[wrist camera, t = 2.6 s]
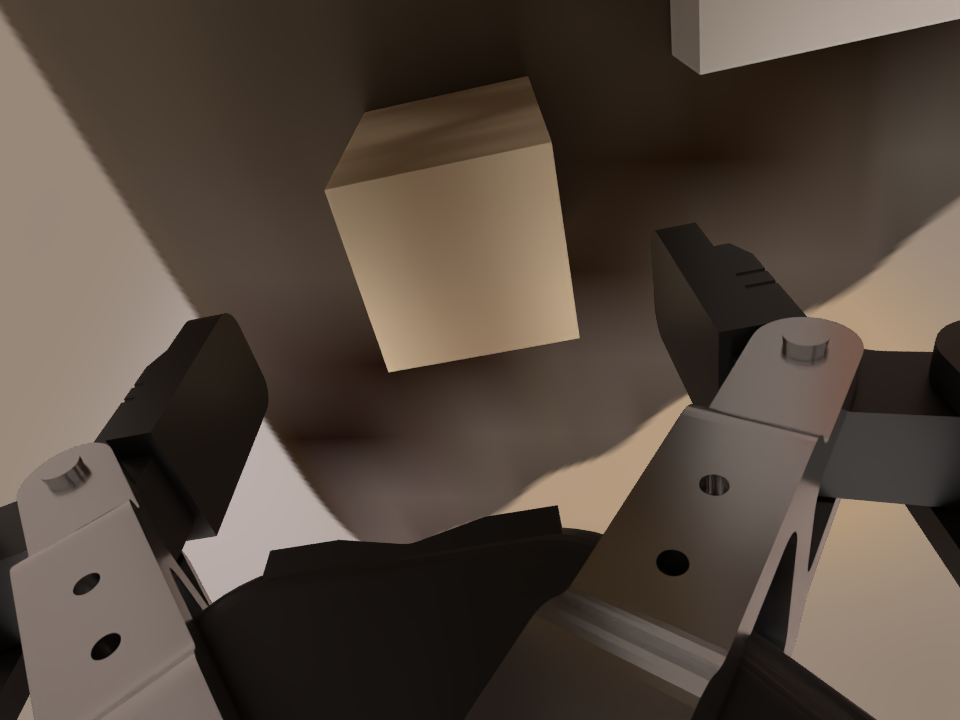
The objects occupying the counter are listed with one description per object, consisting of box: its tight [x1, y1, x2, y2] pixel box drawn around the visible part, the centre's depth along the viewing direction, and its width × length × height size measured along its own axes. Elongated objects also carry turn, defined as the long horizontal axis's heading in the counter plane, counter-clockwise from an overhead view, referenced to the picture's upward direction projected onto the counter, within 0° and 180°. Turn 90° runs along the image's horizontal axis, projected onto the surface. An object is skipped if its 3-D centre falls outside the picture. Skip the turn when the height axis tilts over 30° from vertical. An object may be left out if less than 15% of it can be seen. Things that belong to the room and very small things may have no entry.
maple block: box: [325, 76, 579, 372], centre depth 16 cm, size 4×4×6 cm
